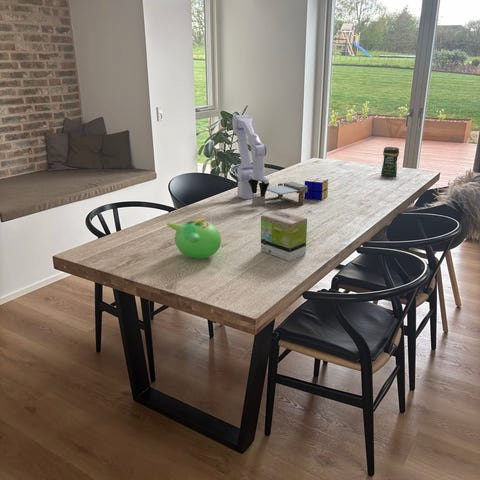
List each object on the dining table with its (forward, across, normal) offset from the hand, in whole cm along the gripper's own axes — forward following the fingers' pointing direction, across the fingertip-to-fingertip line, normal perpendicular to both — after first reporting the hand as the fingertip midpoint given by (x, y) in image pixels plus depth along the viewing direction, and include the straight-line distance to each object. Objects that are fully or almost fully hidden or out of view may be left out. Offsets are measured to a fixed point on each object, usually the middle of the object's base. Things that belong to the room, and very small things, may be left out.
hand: (258, 194), depth 253 cm
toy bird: (+6, +49, -62) cm, 79 cm away
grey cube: (+5, 0, 0) cm, 5 cm away
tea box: (+6, +64, -33) cm, 72 cm away
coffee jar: (+5, -9, +109) cm, 109 cm away
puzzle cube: (+5, +7, +33) cm, 34 cm away
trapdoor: (0, +5, +14) cm, 15 cm away
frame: (+5, +5, +11) cm, 13 cm away
